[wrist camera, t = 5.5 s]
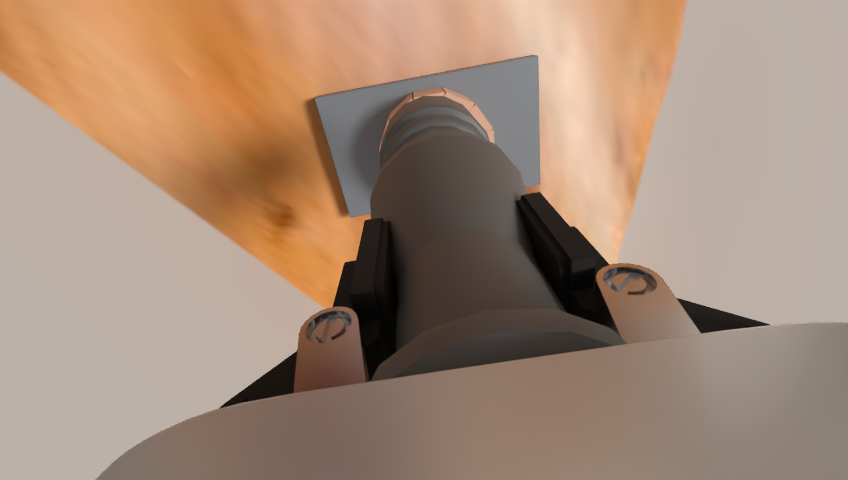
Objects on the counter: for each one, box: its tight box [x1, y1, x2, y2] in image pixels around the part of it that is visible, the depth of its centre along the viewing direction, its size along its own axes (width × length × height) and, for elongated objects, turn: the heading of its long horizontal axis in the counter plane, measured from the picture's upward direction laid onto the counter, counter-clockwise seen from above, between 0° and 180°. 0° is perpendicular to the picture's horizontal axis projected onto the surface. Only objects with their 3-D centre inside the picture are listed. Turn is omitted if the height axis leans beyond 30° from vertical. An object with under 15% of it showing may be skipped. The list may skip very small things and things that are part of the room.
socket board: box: [315, 55, 540, 218], centre depth 34 cm, size 20×12×5 cm, turn 100°
